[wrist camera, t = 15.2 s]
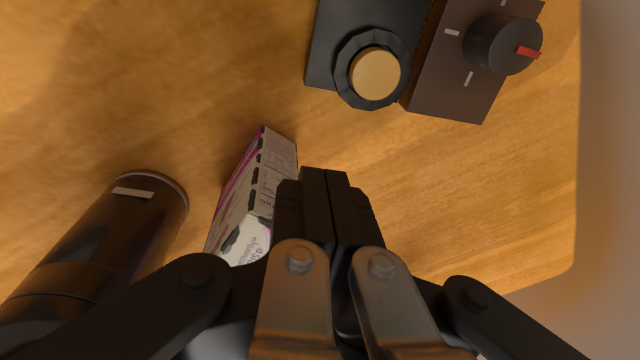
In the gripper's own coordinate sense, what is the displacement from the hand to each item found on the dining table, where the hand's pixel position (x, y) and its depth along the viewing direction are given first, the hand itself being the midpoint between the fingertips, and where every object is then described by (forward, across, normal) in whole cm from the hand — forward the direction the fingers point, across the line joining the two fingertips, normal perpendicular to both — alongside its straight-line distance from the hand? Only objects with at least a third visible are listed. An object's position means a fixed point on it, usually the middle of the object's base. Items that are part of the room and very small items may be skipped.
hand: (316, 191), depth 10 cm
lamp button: (+20, -7, -1) cm, 22 cm away
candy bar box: (+24, +3, +13) cm, 28 cm away
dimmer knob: (+21, -17, -6) cm, 27 cm away
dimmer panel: (+24, -16, -4) cm, 29 cm away
